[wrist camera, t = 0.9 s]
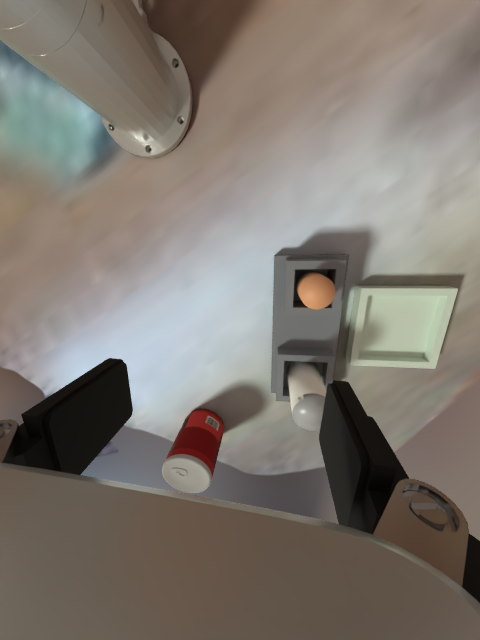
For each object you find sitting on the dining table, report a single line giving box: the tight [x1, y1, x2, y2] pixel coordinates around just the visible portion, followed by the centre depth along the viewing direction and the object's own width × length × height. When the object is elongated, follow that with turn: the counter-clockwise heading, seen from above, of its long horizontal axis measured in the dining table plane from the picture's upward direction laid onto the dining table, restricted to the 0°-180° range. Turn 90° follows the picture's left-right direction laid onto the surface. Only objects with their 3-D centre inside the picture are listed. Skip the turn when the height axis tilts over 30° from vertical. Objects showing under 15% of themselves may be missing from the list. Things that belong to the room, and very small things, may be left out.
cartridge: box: [287, 361, 326, 431], centre depth 32 cm, size 5×5×10 cm
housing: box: [271, 254, 349, 402], centre depth 34 cm, size 23×10×6 cm, turn 1°
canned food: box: [162, 409, 224, 493], centre depth 40 cm, size 8×8×11 cm
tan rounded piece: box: [297, 272, 335, 309], centre depth 28 cm, size 4×4×4 cm
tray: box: [345, 286, 458, 369], centre depth 33 cm, size 12×12×2 cm
